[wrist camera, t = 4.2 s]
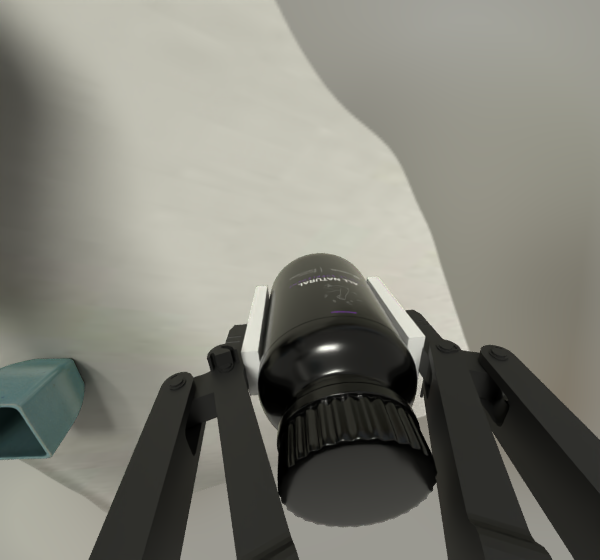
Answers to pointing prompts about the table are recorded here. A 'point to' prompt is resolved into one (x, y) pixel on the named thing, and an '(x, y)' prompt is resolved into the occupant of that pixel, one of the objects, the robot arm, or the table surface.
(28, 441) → the flower pot
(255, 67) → the table surface
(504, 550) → the robot arm
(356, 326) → the supplement bottle
